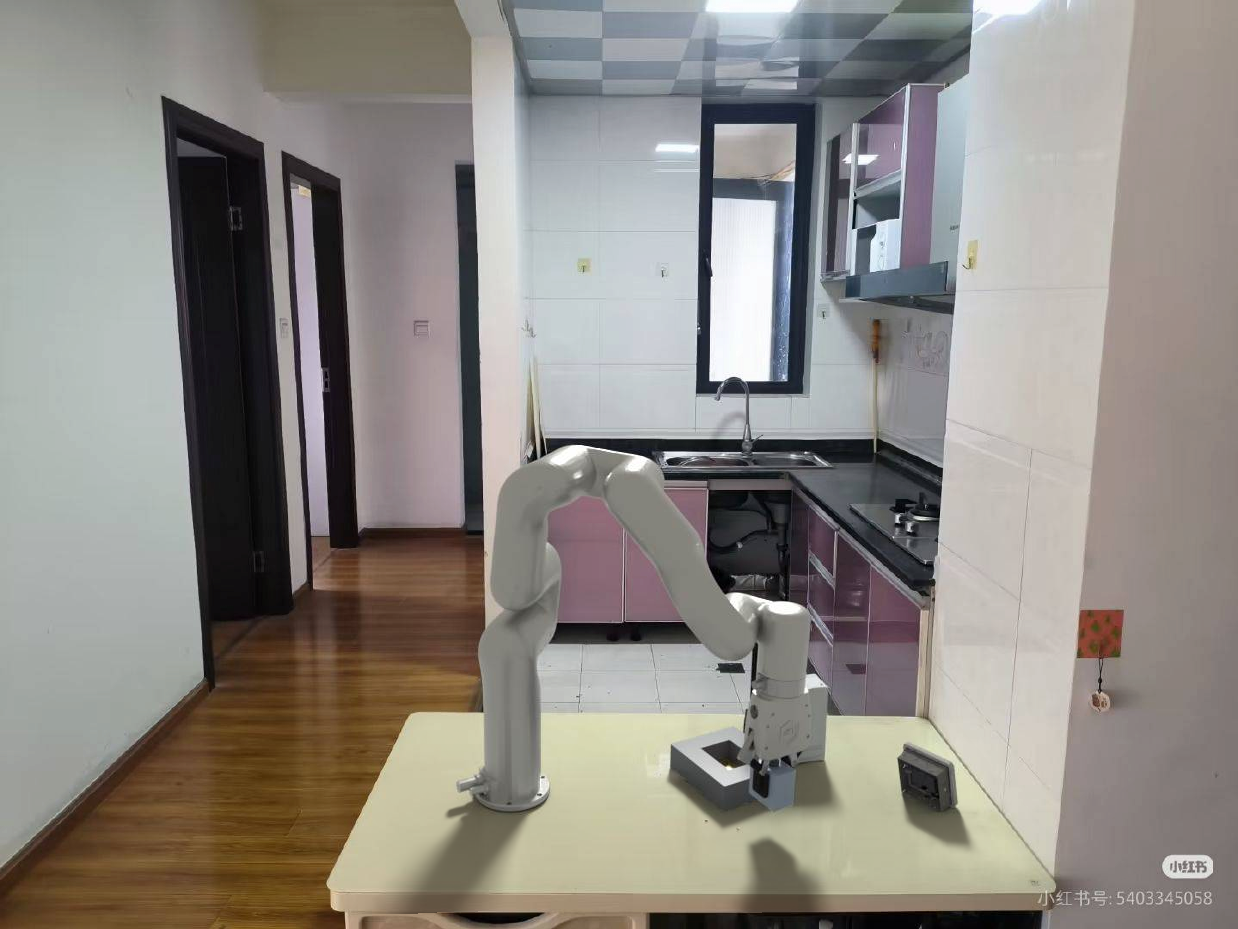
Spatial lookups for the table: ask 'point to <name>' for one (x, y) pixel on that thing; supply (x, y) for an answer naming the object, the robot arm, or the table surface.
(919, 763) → the electrical switch
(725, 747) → the socket block
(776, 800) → the plug
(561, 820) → the table surface
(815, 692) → the skincare box
